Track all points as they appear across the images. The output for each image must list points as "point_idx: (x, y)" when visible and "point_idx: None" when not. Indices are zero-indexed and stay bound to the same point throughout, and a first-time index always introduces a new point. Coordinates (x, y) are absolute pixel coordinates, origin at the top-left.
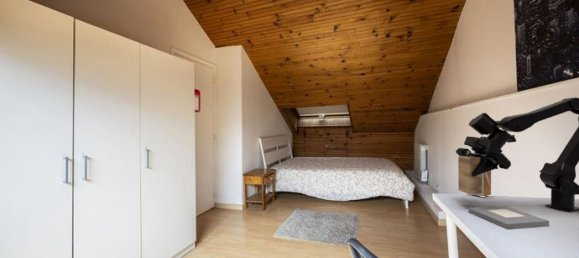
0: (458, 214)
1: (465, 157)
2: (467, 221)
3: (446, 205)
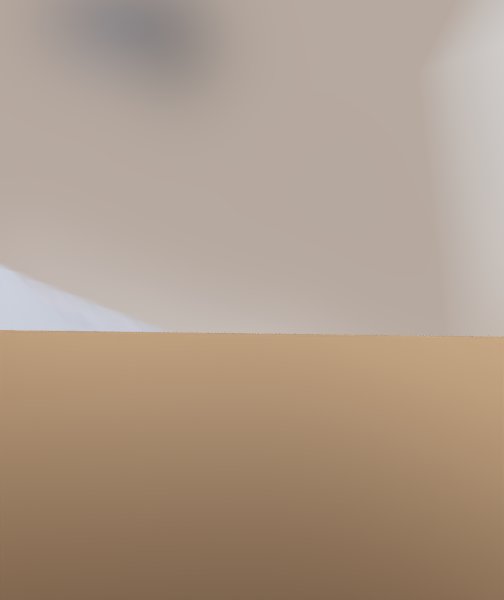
0: (112, 325)
1: (151, 449)
2: (10, 296)
3: None
